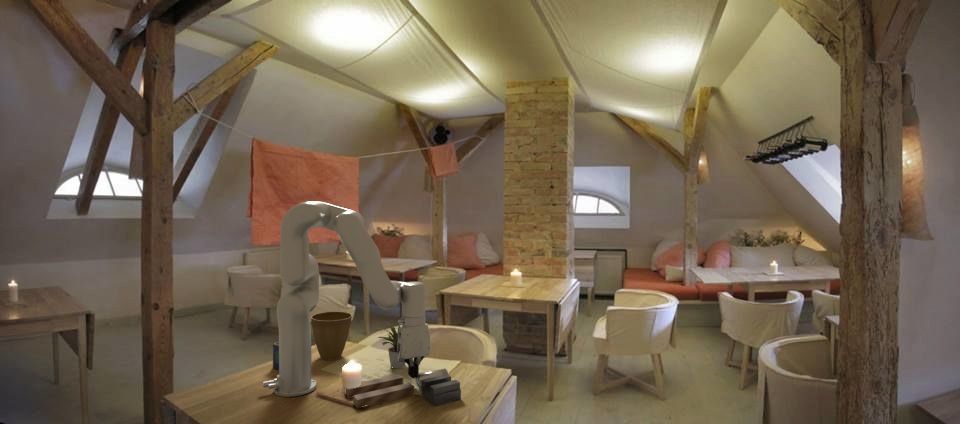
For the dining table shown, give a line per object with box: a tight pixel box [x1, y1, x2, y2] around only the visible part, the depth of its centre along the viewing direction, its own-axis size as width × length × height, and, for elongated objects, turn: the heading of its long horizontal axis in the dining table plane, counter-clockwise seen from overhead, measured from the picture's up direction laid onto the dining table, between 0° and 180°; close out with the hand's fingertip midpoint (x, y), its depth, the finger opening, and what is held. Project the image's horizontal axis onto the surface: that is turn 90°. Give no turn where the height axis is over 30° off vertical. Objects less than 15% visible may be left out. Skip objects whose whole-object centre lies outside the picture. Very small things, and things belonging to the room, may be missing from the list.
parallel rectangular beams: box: [345, 373, 415, 410], centre depth 143 cm, size 18×12×3 cm, turn 123°
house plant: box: [377, 321, 407, 369], centre depth 168 cm, size 14×14×16 cm
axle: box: [415, 368, 449, 388], centre depth 152 cm, size 10×4×4 cm, turn 121°
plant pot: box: [310, 311, 353, 361], centre depth 176 cm, size 15×15×16 cm
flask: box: [272, 341, 279, 372], centre depth 163 cm, size 9×3×11 cm, turn 68°
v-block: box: [420, 373, 462, 407], centre depth 141 cm, size 9×9×5 cm
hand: (413, 376), depth 149 cm, fingers closed
